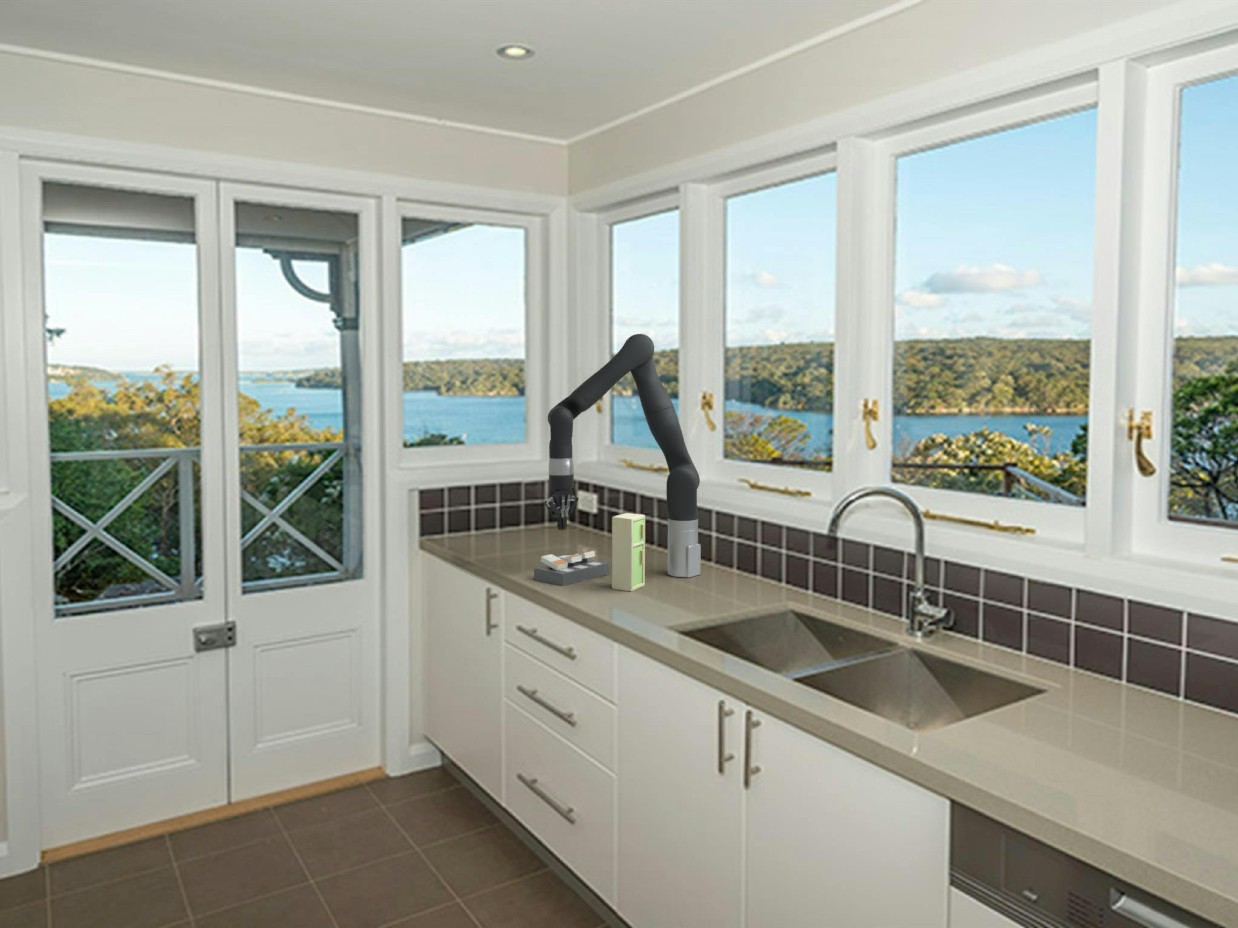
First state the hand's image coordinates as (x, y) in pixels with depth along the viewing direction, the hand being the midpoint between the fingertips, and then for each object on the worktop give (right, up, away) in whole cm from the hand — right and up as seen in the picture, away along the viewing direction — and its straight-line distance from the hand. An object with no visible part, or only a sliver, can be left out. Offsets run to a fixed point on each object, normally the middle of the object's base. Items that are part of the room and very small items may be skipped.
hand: (562, 529), depth 285 cm
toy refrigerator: (+20, -16, -15) cm, 30 cm away
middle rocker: (+2, -9, -1) cm, 9 cm away
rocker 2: (+6, -9, +4) cm, 11 cm away
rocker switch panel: (+4, -14, +1) cm, 15 cm away
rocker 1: (-2, -9, -5) cm, 11 cm away
